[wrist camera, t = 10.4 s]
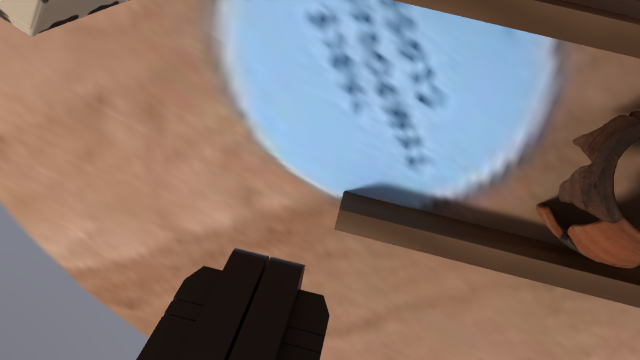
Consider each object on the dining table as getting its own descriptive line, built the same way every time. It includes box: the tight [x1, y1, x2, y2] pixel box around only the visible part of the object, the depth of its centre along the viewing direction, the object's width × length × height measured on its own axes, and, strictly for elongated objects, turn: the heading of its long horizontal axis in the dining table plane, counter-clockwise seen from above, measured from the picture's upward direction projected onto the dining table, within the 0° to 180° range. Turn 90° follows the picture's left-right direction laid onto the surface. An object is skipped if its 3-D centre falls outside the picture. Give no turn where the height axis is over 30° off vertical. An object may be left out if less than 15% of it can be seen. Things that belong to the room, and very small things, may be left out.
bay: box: [334, 0, 640, 308], centre depth 33 cm, size 17×26×4 cm, turn 79°
